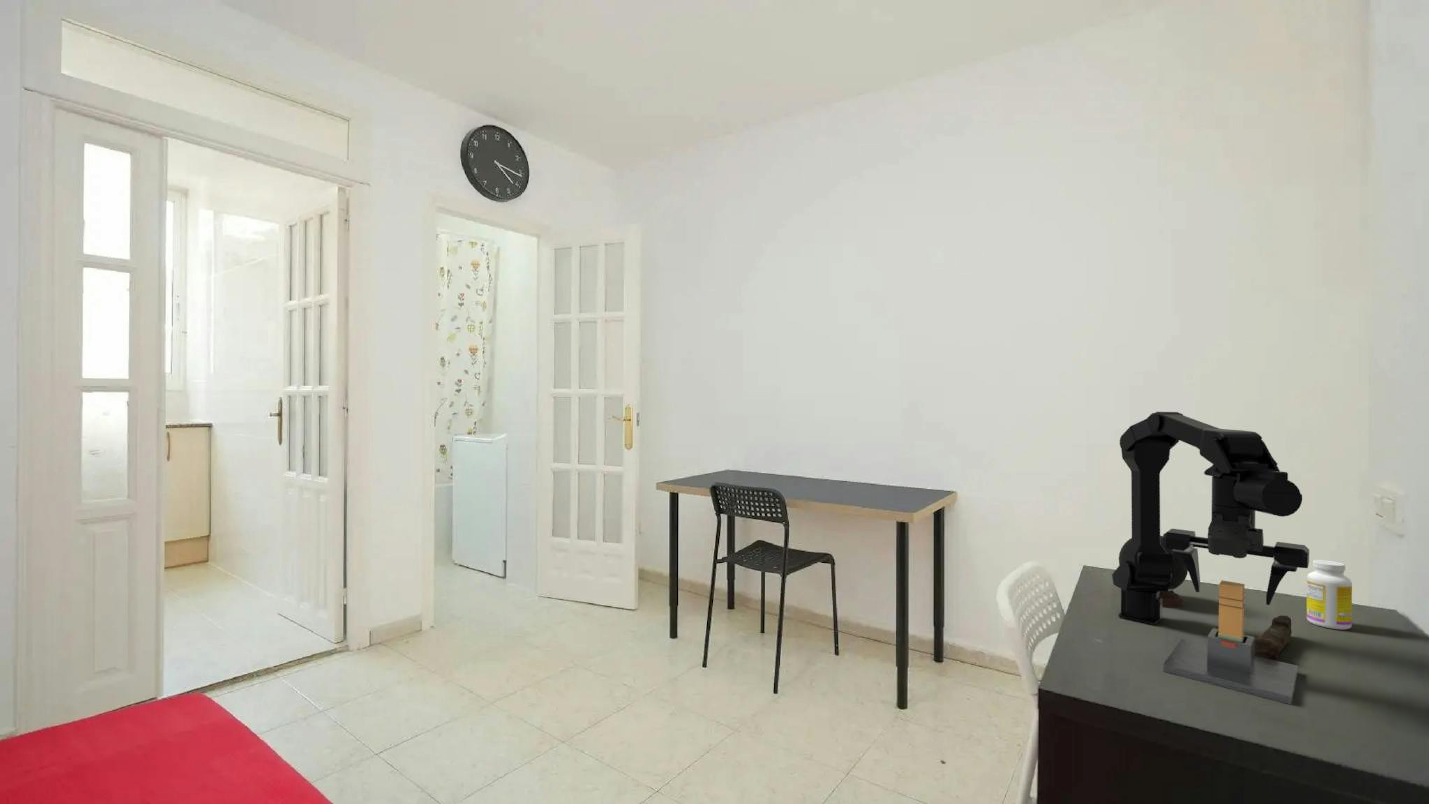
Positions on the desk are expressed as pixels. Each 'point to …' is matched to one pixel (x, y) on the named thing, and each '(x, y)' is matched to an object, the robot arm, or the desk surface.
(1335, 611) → the supplement bottle
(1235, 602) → the column
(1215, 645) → the jack stand base
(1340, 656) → the desk surface
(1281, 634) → the rusty railroad spike
